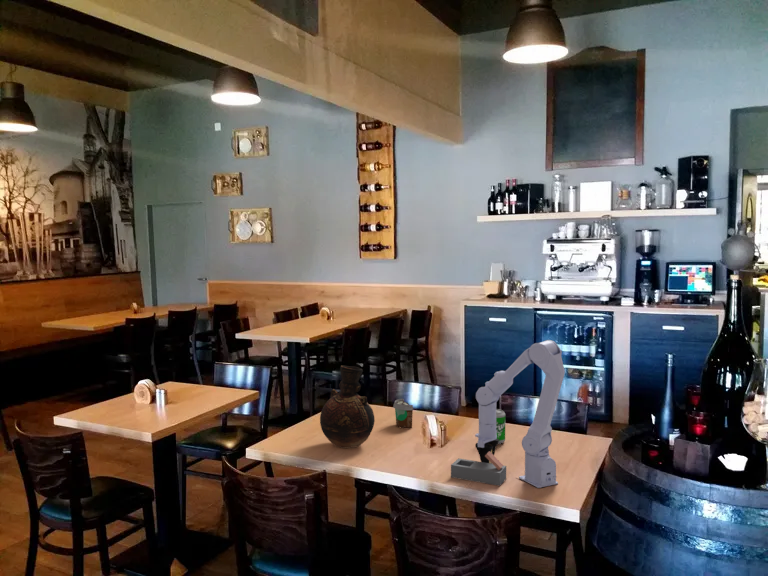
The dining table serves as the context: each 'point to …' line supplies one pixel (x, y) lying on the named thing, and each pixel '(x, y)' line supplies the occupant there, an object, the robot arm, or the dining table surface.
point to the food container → (403, 414)
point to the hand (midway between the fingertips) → (487, 462)
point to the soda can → (500, 425)
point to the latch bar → (494, 460)
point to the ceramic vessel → (347, 412)
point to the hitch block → (478, 472)
